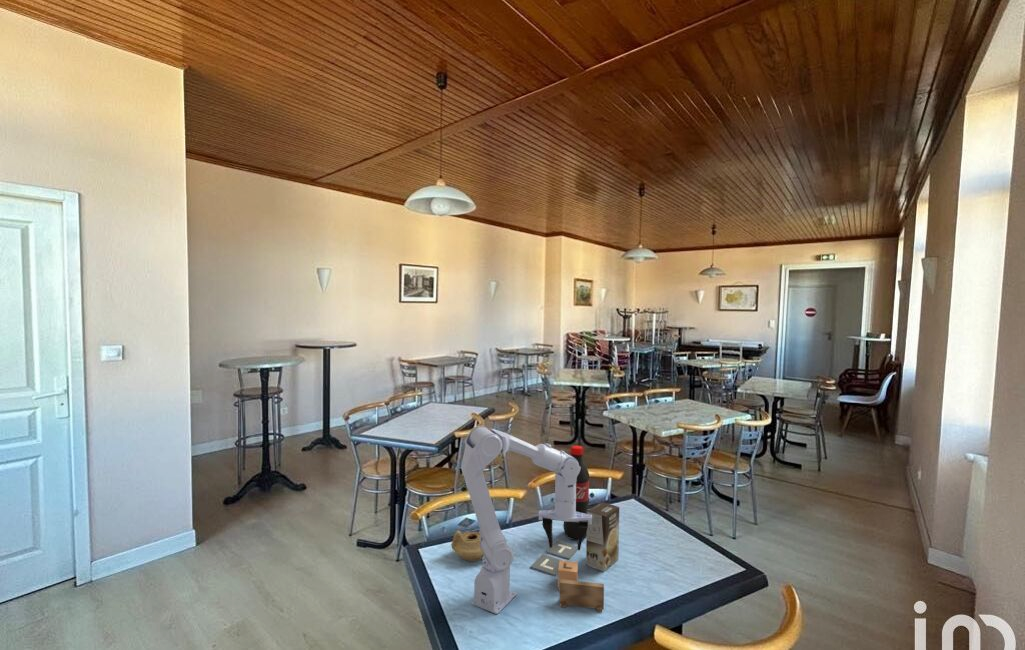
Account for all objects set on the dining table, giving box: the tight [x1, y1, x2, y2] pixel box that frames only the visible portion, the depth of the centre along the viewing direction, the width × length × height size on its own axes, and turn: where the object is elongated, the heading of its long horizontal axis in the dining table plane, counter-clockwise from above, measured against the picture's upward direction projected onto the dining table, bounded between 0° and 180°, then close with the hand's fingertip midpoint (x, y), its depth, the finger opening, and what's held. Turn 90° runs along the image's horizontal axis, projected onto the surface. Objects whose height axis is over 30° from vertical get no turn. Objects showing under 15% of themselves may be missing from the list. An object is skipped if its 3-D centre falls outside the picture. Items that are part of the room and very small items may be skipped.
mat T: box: [544, 540, 579, 561], centre depth 138 cm, size 8×8×1 cm
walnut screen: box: [559, 579, 605, 613], centre depth 111 cm, size 11×4×6 cm, turn 80°
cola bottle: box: [563, 445, 590, 541], centre depth 147 cm, size 8×8×30 cm
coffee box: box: [585, 501, 620, 572], centre depth 131 cm, size 9×6×16 cm
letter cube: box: [557, 559, 579, 589], centre depth 120 cm, size 5×5×5 cm
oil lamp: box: [450, 530, 484, 562], centre depth 134 cm, size 11×15×8 cm
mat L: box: [529, 554, 561, 577], centre depth 129 cm, size 8×8×1 cm
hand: (564, 547), depth 121 cm, fingers open, 7 cm apart
